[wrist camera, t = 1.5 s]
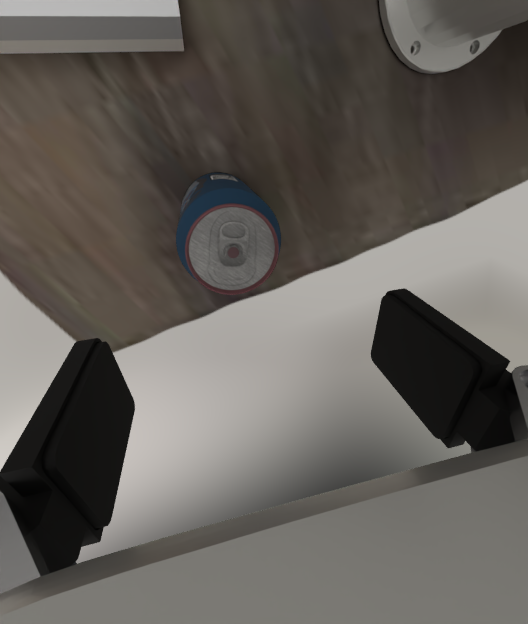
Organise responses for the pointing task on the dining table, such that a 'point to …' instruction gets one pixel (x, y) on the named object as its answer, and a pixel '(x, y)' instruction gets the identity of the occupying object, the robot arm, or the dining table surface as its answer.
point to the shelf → (89, 26)
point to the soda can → (227, 235)
